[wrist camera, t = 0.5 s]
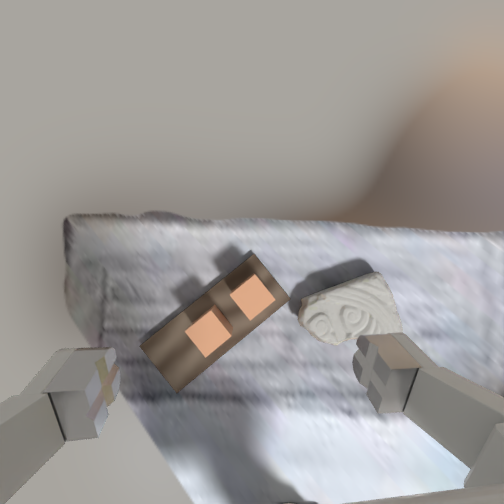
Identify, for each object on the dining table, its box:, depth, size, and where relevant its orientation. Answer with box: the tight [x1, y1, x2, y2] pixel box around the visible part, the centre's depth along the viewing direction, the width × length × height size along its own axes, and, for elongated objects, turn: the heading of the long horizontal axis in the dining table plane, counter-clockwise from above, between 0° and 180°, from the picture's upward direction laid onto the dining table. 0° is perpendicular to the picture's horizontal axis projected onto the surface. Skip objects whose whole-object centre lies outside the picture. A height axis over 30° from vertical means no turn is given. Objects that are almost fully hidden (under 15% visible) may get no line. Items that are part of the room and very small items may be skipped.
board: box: [140, 254, 290, 393], centre depth 56 cm, size 13×32×1 cm, turn 129°
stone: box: [298, 272, 403, 346], centre depth 56 cm, size 21×15×5 cm
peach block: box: [230, 273, 275, 321], centre depth 53 cm, size 6×6×7 cm
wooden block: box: [185, 305, 233, 358], centre depth 52 cm, size 6×6×7 cm
